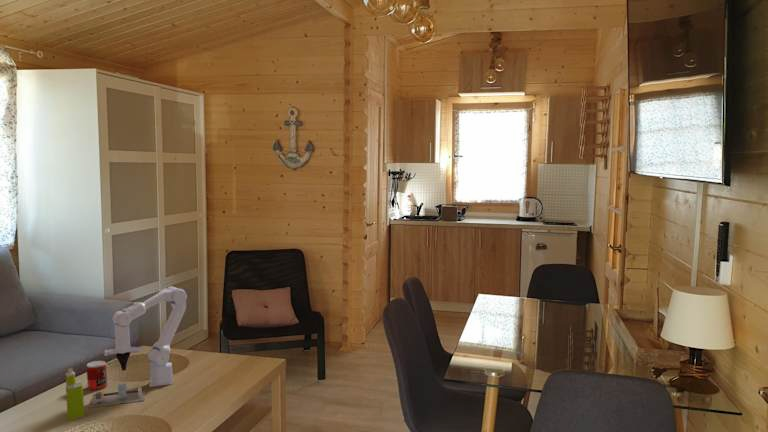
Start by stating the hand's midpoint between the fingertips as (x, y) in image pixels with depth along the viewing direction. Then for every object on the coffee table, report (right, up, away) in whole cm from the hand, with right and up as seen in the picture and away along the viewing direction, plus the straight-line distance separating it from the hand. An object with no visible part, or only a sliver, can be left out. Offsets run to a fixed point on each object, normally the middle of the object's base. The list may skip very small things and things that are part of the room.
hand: (124, 369), depth 250 cm
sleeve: (+2, -10, -6) cm, 12 cm away
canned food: (-15, -10, +8) cm, 20 cm away
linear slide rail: (0, -11, -7) cm, 13 cm away
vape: (-9, -13, -23) cm, 27 cm away
